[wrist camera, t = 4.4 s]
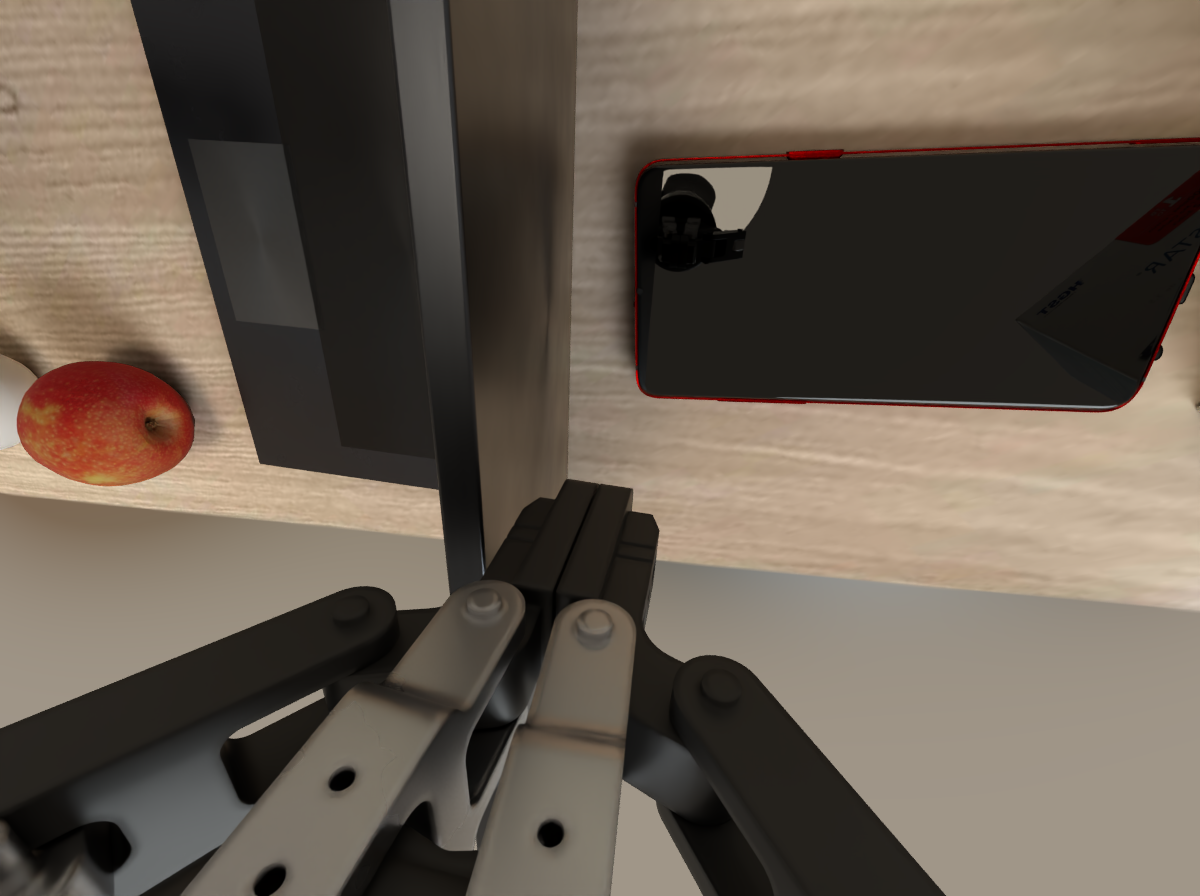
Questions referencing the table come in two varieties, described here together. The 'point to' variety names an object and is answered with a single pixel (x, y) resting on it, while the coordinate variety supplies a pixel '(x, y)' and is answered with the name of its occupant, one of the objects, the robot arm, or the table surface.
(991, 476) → the table surface
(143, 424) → the apple
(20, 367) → the white sphere
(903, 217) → the smartphone
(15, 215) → the table surface
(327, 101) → the laptop
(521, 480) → the laptop screen
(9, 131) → the table surface
